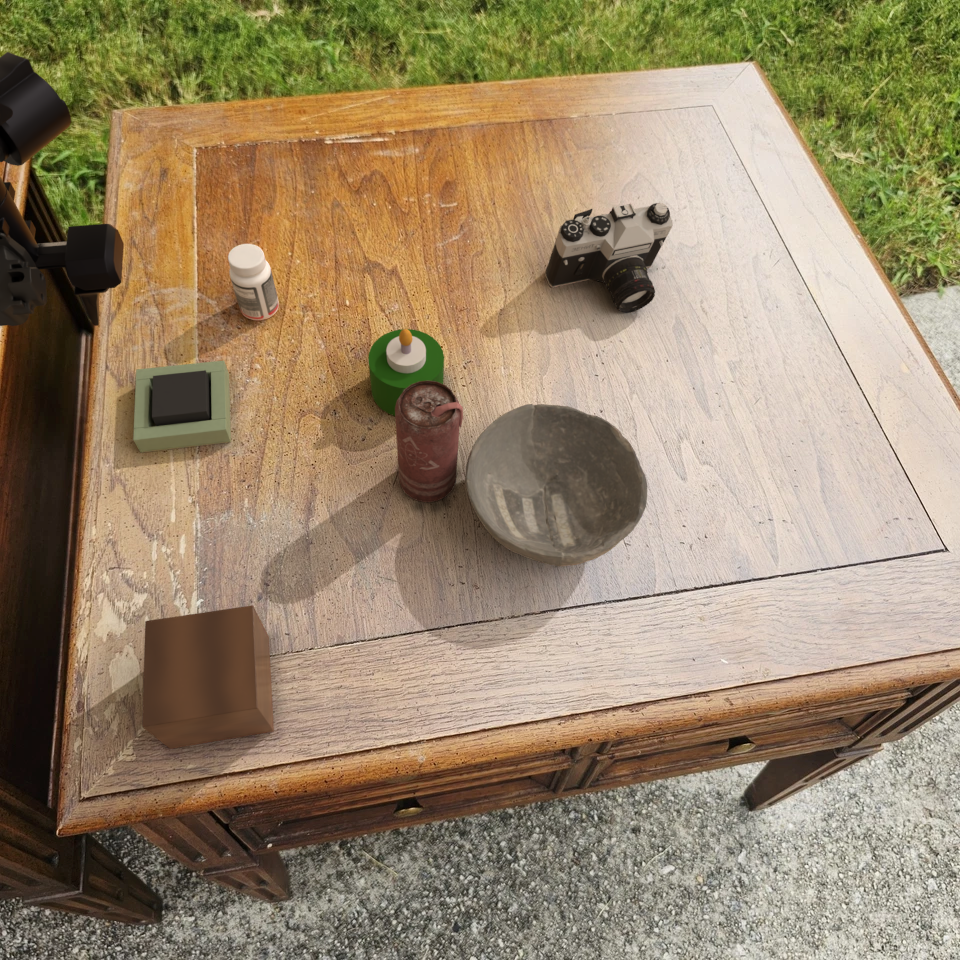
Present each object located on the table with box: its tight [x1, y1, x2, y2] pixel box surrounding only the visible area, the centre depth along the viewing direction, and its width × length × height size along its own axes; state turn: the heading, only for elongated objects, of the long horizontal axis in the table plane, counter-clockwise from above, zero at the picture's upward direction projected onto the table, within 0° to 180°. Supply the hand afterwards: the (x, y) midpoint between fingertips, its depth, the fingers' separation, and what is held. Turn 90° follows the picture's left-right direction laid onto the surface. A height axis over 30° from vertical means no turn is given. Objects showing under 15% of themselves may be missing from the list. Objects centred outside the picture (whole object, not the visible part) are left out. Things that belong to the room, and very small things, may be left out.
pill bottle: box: [227, 243, 280, 321], centre depth 93 cm, size 5×5×8 cm
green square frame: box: [132, 360, 232, 454], centre depth 87 cm, size 10×10×2 cm
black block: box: [152, 370, 212, 426], centre depth 86 cm, size 6×6×4 cm
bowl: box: [464, 403, 648, 568], centre depth 80 cm, size 18×18×8 cm
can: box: [394, 380, 464, 503], centre depth 79 cm, size 6×6×14 cm
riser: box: [141, 604, 275, 750], centre depth 69 cm, size 9×9×8 cm
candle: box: [367, 328, 445, 417], centre depth 87 cm, size 8×8×10 cm
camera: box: [544, 202, 674, 314], centre depth 97 cm, size 15×11×10 cm
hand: (47, 327), depth 77 cm, fingers open, 9 cm apart
